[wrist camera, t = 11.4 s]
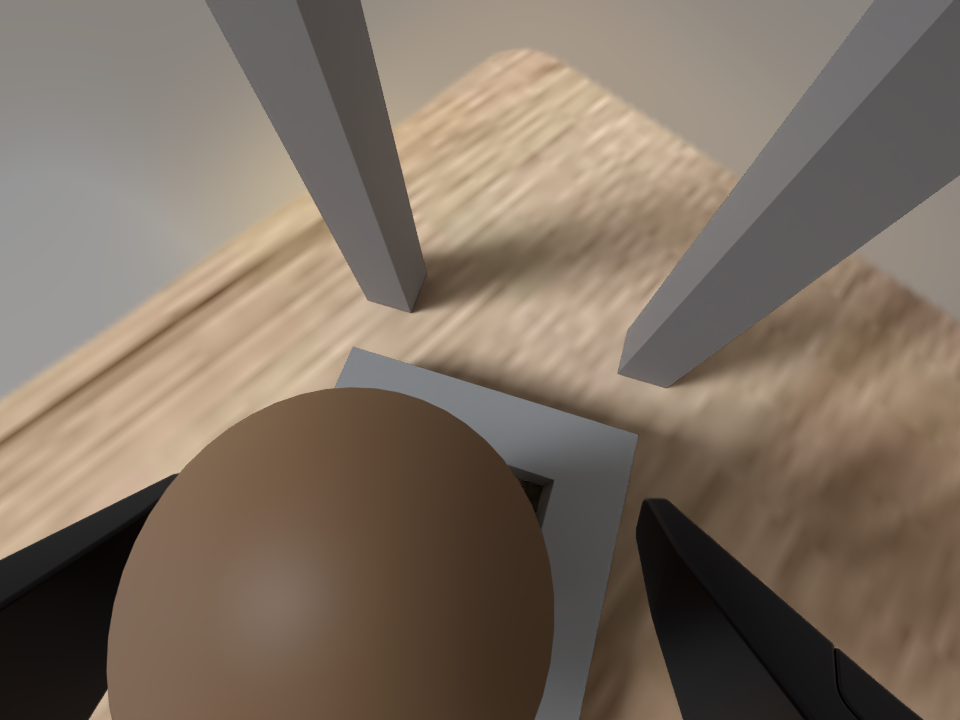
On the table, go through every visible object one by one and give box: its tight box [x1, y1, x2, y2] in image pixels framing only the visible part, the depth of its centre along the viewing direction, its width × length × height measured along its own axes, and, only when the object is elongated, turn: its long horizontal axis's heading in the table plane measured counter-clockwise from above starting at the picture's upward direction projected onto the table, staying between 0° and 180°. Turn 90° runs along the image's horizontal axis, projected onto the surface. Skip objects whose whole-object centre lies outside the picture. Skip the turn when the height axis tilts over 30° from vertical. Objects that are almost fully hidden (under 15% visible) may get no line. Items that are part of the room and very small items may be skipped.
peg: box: [107, 387, 554, 720], centre depth 10 cm, size 4×4×13 cm
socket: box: [334, 347, 638, 720], centre depth 15 cm, size 10×10×3 cm
